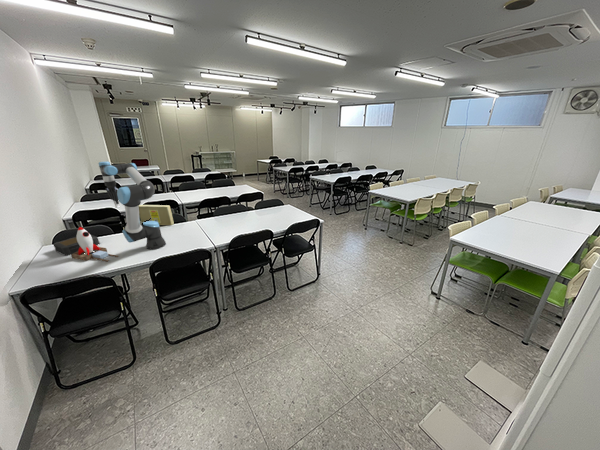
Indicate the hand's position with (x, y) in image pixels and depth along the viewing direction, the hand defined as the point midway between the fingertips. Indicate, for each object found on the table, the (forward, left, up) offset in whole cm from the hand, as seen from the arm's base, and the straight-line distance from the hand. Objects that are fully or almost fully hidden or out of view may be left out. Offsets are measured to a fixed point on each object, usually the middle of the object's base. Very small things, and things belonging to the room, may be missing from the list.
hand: (117, 207), depth 205 cm
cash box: (+34, +20, -35) cm, 53 cm away
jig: (+1, +27, -34) cm, 44 cm away
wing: (-2, +27, -34) cm, 44 cm away
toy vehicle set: (+12, -44, -35) cm, 58 cm away
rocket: (+10, +27, -34) cm, 44 cm away
